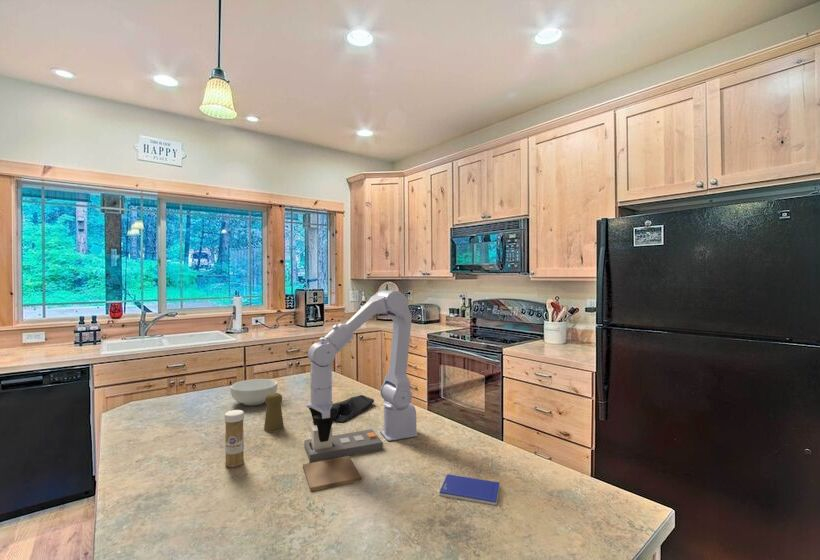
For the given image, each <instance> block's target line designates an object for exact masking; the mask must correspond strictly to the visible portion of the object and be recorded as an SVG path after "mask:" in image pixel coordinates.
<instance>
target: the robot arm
mask: <svg viewBox="0 0 820 560" xmlns="http://www.w3.org/2000/svg"><path fill="white" fill-rule="evenodd" d="M408 303H409V299H408V298H407V297H406V296H405V295H404V294H403V293H402V292H401V291H399V290H387V289H380V290H378V291H377V292H376V293H375V294H373V295H372V296H371V297H370V298H369V299H368V301H367V302H365V304H363V305H362V306H361V307H360V309H359V310H357V312H356V313H355V314H354V315H352V316H351V317H350V319H349V320H348V321H347V322H344V323H343V322H342V323H338V324H334V325H333V326H332V327H331V328H332V330H330V331H329V332H328V333H327V334H326V335H324V337H323V336H321V337H319V341H318V342H314V343H313V344H312V345H310V347H309V350H308V352H307V354H306V355H307V357H308V359H309V360H310V402H308V403H306V404H305V406H306V408H308V410H309V411H310V414H311V417H312V423H313V425H317V428H318V435H319V440H320V442H325V441H328V439H329V435H330V430H331V427H332V426H333V425H334V422H335V421H334V420H335V417H336V416H335V414H333V415H330V409H331V407H332V405H333V404H334V403H333V392H332V391H333V383H332V382H333V374H332V373H333V370H332V364H333V362H334V360H336V359H335V358H336V355H337V354H338V353H339V352H340V351H341V350H342V349H343V348H344V347H346V346H347V344H348V343H349V342H350V341H352V339H354V335H355V334H354V333H355V331H357V330H358V329H359V328H360V327H362V326H363V325H364V324H365V323H366V322H367V321H369V320H370V319H372V318H373V317H374V315H379V314H386V315H387V316H388V317H389V318H390V319H391V320H392V322H393V324H392V325H393V326H392V335H391V342H390V343H391V346H390V355H389V356H390V357H389V363H388V364H389V365H388V373H386V375H385V376H384V379H383V383H382V385H381V387H380V392H379V393H380V396H381V398H382V399H383V402H384V403H383V410H384V411H383V420H384V421H383V422H384V423H383V427H384V429H380V430H379V432H380V433H381V435H382V436H383V437H384V438H385V439H386V441H388V442H390V441H392V442H393V441H396V440H402V439H407V438H414V437H418V433H417V411H416V410H417V409H416V408H415V407H416V406H415V405H414V404H413V403H412V402H411V401H412V399H413V396H412V395H413V393H412V391H411V381H410V380H409V378H408V375H407V370H408V360H409V349H410V341H411V329H412V318H413V317H412V312H411V311H410V307H409V305H408ZM332 428H333V427H332Z"/></svg>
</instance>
